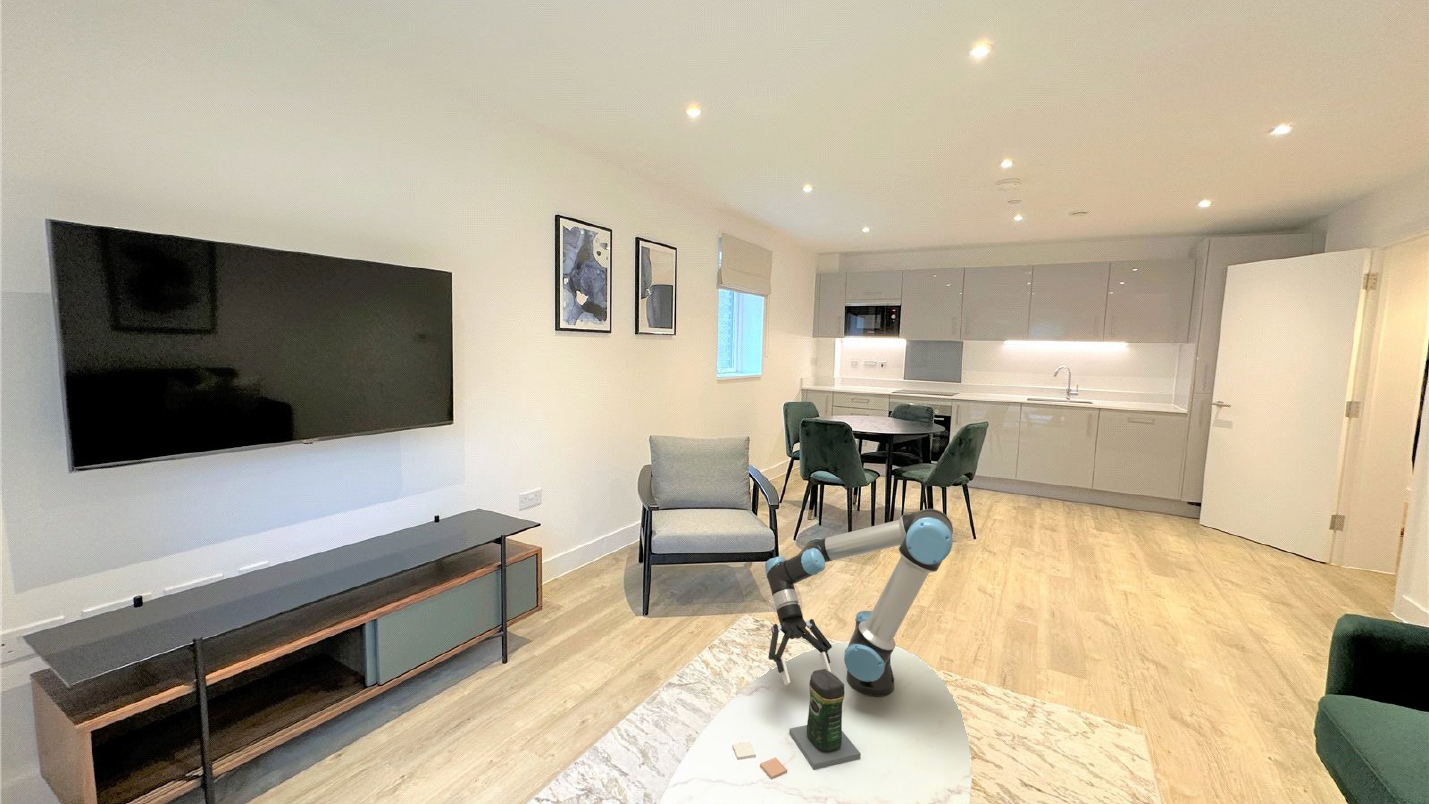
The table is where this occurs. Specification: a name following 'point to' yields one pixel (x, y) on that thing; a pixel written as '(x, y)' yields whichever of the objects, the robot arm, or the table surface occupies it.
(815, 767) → the slate plate
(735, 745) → the tile
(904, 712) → the table surface
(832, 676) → the coffee jar
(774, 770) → the tile
